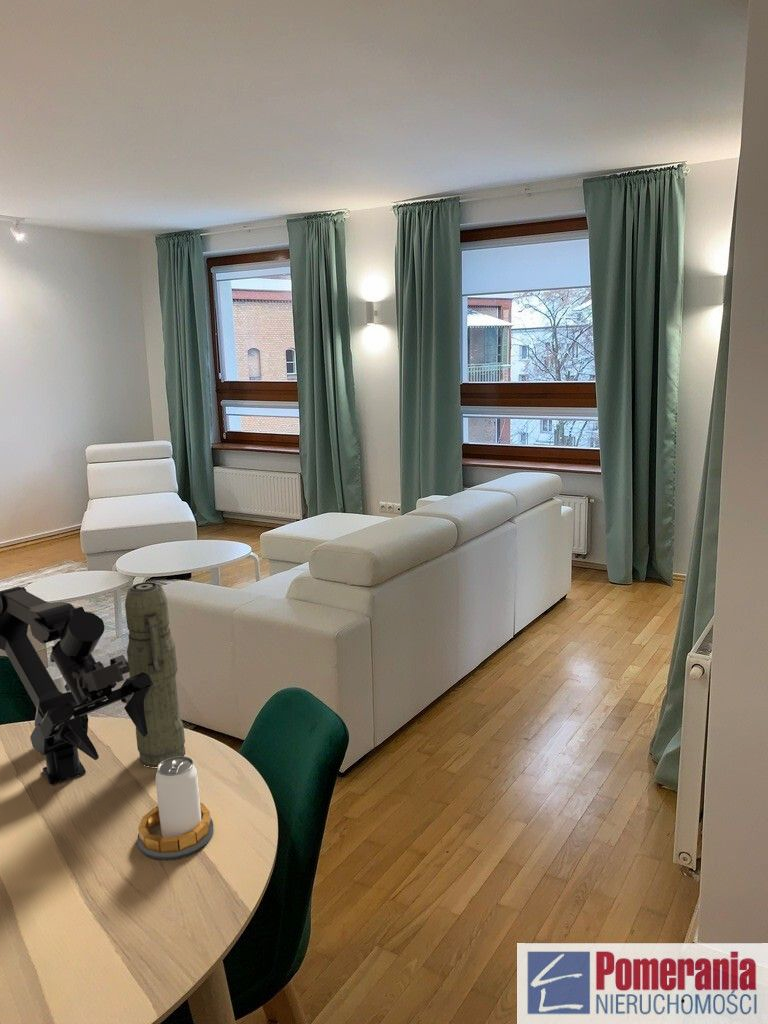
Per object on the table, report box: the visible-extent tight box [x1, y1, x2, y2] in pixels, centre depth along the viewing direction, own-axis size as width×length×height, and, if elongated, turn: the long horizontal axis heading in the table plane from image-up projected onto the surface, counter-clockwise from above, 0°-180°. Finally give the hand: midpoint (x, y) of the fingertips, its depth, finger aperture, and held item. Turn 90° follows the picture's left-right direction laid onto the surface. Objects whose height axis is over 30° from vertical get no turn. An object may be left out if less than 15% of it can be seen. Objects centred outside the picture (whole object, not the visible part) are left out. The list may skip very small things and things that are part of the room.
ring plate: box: [137, 802, 214, 861], centre depth 127 cm, size 12×12×3 cm
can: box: [155, 755, 202, 838], centre depth 125 cm, size 6×6×12 cm
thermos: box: [124, 581, 186, 768], centre depth 148 cm, size 9×12×35 cm
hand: (122, 746), depth 129 cm, fingers open, 9 cm apart
